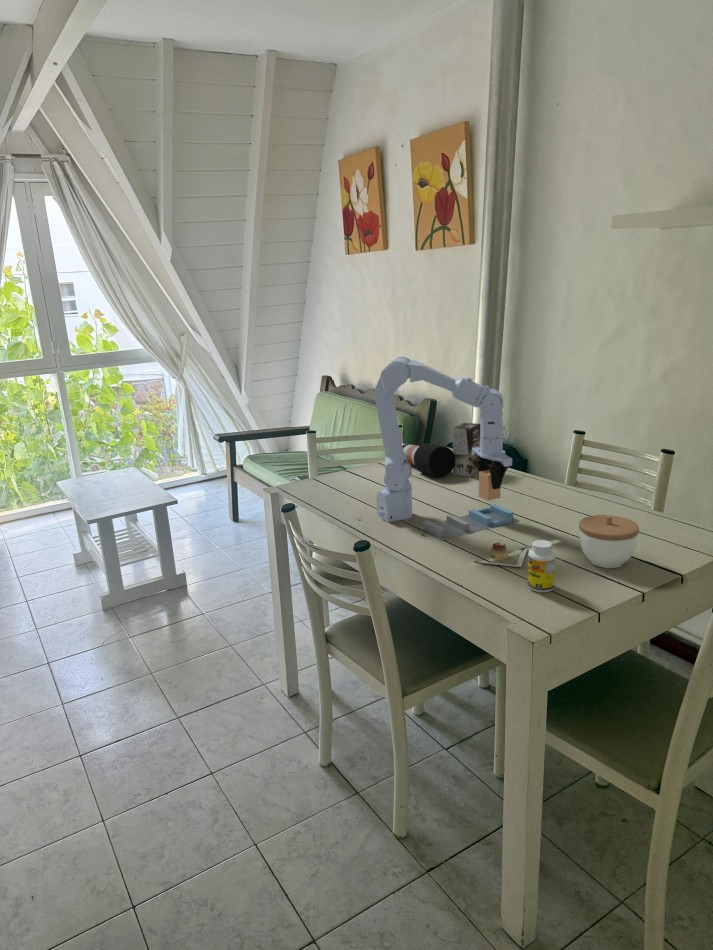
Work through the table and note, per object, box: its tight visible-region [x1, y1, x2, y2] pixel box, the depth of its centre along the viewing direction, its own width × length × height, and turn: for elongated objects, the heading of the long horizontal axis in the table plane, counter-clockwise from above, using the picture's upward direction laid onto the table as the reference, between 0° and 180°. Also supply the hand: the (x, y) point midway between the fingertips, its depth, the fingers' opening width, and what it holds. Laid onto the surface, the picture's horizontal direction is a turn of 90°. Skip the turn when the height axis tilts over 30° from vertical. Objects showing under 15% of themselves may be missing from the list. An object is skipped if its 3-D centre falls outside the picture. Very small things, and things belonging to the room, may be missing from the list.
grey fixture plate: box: [417, 503, 520, 541], centre depth 177 cm, size 25×11×3 cm, turn 117°
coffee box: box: [452, 422, 480, 478], centre depth 221 cm, size 9×6×16 cm
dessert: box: [473, 538, 529, 568], centre depth 159 cm, size 12×12×5 cm
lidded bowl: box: [578, 514, 640, 569], centre depth 151 cm, size 13×13×11 cm
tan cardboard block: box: [478, 470, 501, 501], centre depth 177 cm, size 4×4×7 cm
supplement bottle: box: [527, 539, 557, 593], centre depth 141 cm, size 6×6×10 cm
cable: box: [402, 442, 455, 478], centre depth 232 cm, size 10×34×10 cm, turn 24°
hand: (491, 486), depth 178 cm, fingers closed on tan cardboard block, 4 cm apart
